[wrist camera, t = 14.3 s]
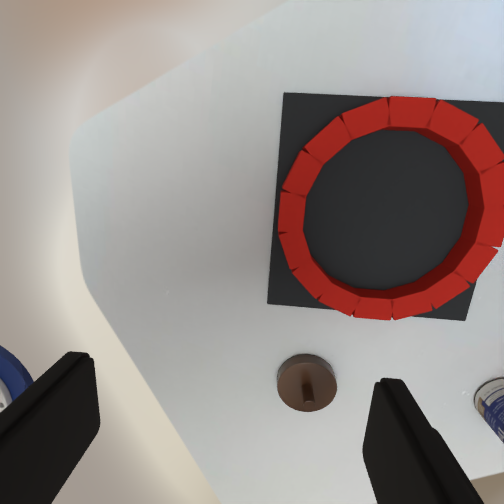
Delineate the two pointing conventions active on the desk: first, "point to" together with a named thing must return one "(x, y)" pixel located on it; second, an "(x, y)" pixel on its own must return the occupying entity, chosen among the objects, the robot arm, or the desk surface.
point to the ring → (475, 225)
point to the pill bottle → (492, 405)
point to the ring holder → (306, 383)
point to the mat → (375, 203)
